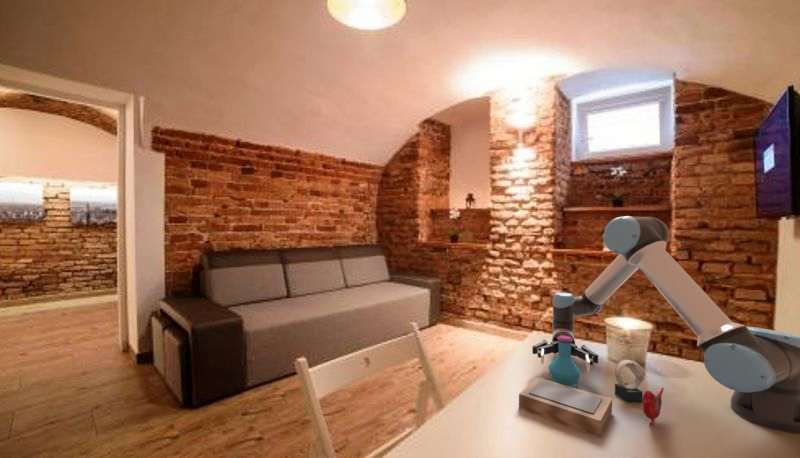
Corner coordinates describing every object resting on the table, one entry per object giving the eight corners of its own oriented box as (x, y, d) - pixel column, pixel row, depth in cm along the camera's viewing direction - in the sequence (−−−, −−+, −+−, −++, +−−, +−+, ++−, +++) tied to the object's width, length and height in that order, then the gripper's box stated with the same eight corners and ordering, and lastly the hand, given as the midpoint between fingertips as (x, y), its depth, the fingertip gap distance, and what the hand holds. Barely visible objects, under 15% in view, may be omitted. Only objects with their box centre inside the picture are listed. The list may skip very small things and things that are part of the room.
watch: (648, 402, 101) (649, 364, 101) (622, 403, 100) (623, 365, 100) (633, 392, 107) (634, 356, 107) (609, 393, 106) (609, 357, 106)
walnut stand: (611, 413, 95) (612, 397, 95) (600, 437, 85) (600, 419, 84) (537, 390, 108) (537, 376, 108) (518, 408, 98) (519, 392, 98)
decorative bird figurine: (637, 432, 87) (638, 392, 87) (656, 407, 99) (657, 371, 98) (651, 437, 85) (652, 396, 84) (669, 411, 96) (670, 375, 96)
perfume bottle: (542, 379, 116) (542, 334, 115) (565, 375, 118) (565, 331, 118) (563, 392, 107) (563, 343, 106) (587, 388, 110) (588, 340, 109)
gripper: (601, 356, 124) (610, 382, 104) (527, 346, 134) (522, 368, 114) (602, 335, 124) (610, 357, 104) (528, 327, 134) (523, 345, 114)
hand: (564, 362), depth 109 cm, fingers open, 12 cm apart
